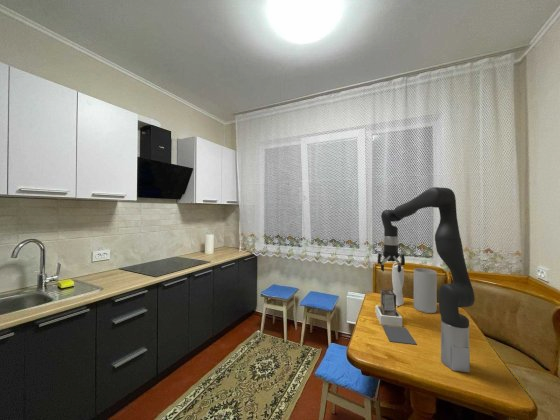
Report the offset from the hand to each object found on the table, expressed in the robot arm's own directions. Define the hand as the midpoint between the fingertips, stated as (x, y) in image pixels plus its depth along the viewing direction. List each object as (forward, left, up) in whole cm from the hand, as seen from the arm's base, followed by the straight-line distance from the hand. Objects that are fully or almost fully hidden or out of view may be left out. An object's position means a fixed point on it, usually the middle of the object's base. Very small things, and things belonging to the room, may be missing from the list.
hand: (390, 271), depth 132 cm
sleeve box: (-1, +2, -28) cm, 28 cm away
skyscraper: (+24, -10, -28) cm, 39 cm away
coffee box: (-1, +2, -28) cm, 28 cm away
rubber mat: (-17, +1, -28) cm, 33 cm away
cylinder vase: (+19, -25, -28) cm, 42 cm away
